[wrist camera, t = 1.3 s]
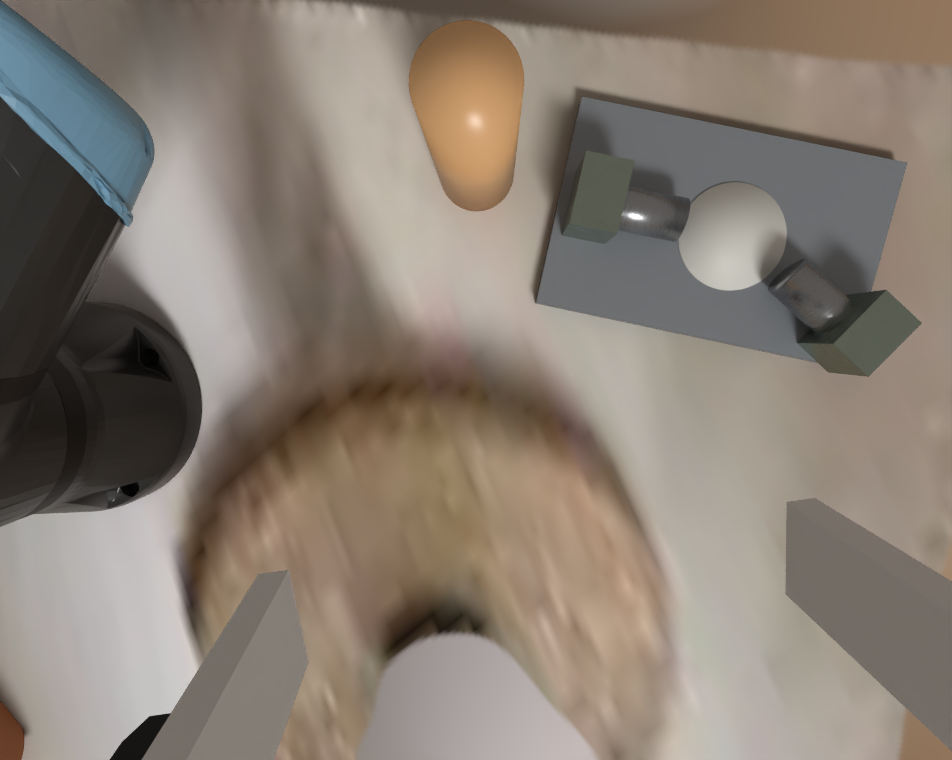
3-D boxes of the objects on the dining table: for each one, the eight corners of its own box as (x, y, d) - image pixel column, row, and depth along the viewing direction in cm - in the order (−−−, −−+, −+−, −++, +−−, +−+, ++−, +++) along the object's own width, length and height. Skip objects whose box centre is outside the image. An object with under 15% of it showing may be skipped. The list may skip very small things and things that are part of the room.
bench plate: (535, 303, 36) (536, 302, 35) (579, 103, 35) (582, 95, 34) (839, 367, 36) (850, 368, 35) (895, 167, 35) (908, 162, 34)
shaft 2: (752, 301, 35) (783, 297, 31) (798, 253, 34) (836, 243, 31) (828, 372, 35) (868, 376, 31) (875, 324, 35) (921, 323, 31)
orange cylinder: (433, 203, 36) (398, 128, 23) (448, 128, 36) (421, 10, 23) (505, 217, 36) (510, 151, 23) (521, 143, 36) (535, 32, 23)
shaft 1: (561, 235, 35) (569, 223, 31) (576, 170, 35) (586, 150, 31) (665, 257, 35) (686, 247, 31) (681, 192, 34) (704, 174, 31)
